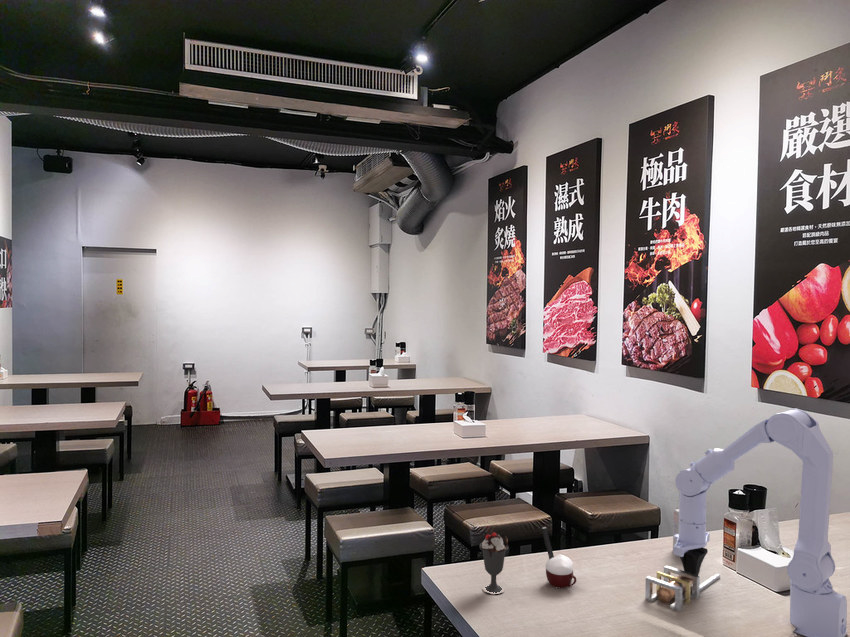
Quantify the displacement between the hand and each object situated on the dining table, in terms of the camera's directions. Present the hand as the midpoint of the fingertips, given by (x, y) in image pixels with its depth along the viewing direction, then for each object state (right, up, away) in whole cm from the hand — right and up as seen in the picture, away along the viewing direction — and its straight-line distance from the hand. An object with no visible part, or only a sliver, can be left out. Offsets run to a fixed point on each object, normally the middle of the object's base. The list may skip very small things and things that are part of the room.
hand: (691, 579), depth 141 cm
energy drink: (+7, -3, +20) cm, 21 cm away
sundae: (-46, -2, -2) cm, 46 cm away
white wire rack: (-2, -2, -2) cm, 4 cm away
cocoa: (-30, -2, +2) cm, 30 cm away
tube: (-5, -1, -5) cm, 7 cm away
